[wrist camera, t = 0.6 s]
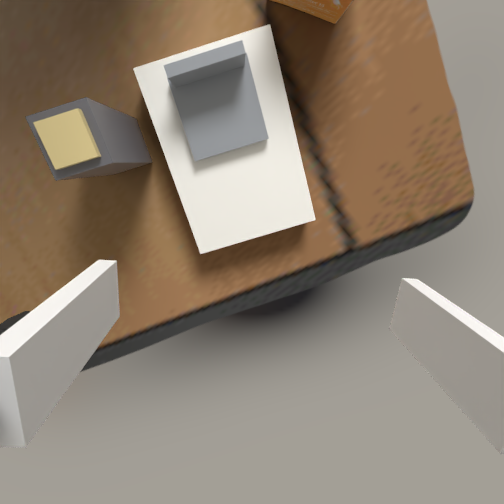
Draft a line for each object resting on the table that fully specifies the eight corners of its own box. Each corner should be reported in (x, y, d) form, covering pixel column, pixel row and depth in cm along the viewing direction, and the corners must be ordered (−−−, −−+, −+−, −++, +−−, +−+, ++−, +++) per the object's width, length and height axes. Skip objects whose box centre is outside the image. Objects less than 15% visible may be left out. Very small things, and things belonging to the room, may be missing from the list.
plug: (95, 131, 35) (19, 115, 23) (136, 118, 34) (82, 95, 22) (113, 174, 36) (51, 181, 24) (152, 162, 36) (110, 162, 24)
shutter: (168, 80, 30) (157, 67, 26) (246, 55, 29) (247, 38, 25) (195, 161, 32) (189, 161, 28) (268, 139, 32) (272, 135, 28)
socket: (144, 79, 33) (133, 68, 29) (265, 40, 33) (270, 24, 29) (204, 245, 39) (200, 254, 35) (307, 214, 39) (315, 219, 35)
